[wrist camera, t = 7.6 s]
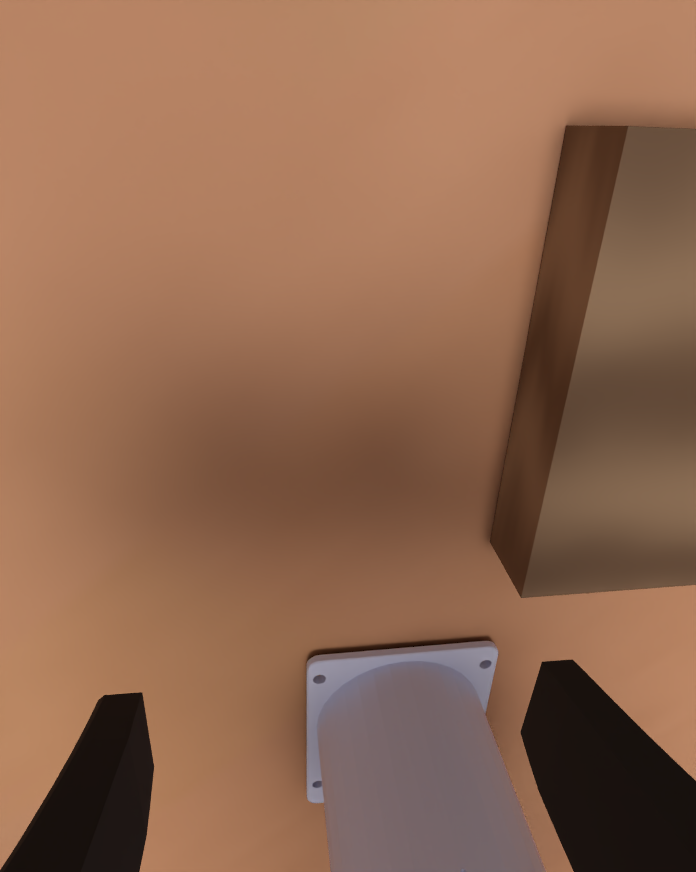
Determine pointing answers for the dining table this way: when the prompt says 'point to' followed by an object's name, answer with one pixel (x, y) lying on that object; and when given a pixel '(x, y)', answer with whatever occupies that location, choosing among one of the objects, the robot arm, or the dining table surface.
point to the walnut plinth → (608, 376)
